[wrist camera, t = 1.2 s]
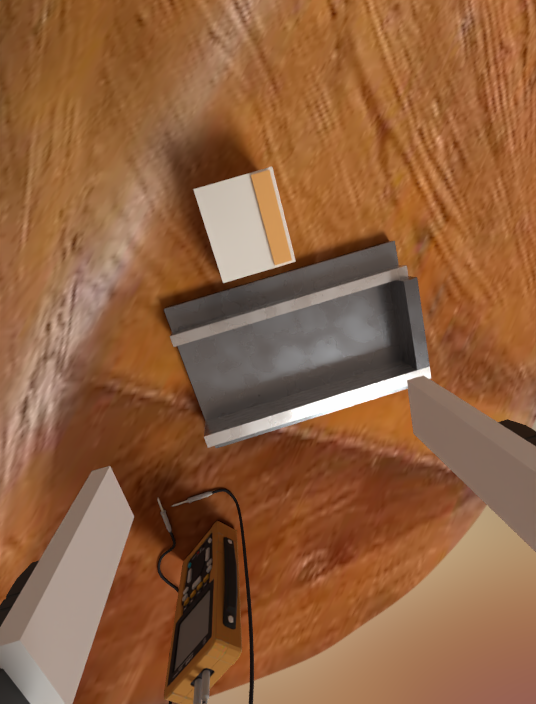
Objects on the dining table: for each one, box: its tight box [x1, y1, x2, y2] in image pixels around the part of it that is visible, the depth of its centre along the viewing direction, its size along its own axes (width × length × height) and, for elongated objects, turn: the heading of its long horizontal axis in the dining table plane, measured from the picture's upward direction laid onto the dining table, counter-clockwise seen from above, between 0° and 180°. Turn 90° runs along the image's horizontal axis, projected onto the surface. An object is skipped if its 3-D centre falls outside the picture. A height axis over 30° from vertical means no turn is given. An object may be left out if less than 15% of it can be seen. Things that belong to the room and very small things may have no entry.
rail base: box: [164, 241, 431, 448], centre depth 32 cm, size 15×22×4 cm
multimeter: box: [157, 489, 254, 704], centre depth 29 cm, size 15×10×20 cm
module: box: [193, 167, 296, 283], centre depth 28 cm, size 7×6×5 cm
